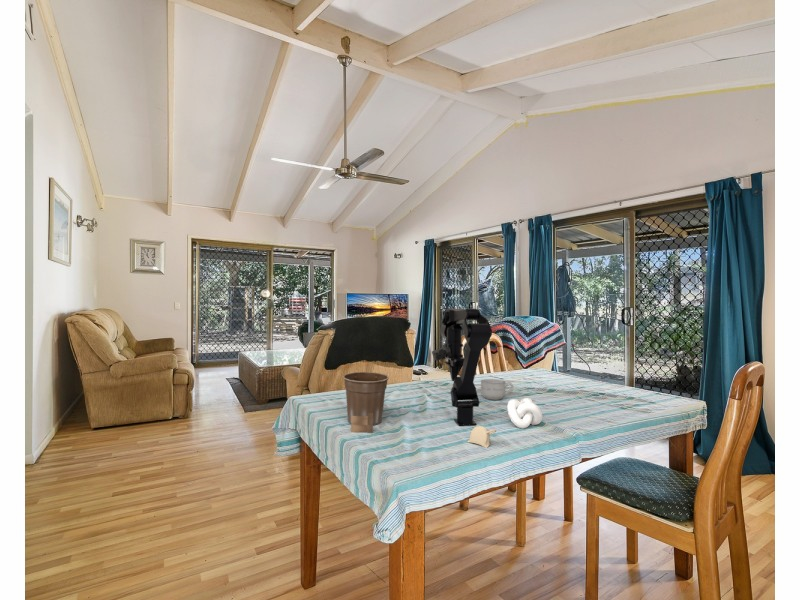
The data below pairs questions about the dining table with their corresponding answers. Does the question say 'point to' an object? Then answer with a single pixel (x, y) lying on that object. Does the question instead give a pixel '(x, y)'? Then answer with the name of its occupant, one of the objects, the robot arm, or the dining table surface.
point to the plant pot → (365, 394)
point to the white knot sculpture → (524, 412)
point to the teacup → (494, 388)
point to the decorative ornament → (481, 436)
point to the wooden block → (362, 423)
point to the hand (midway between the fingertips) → (453, 380)
